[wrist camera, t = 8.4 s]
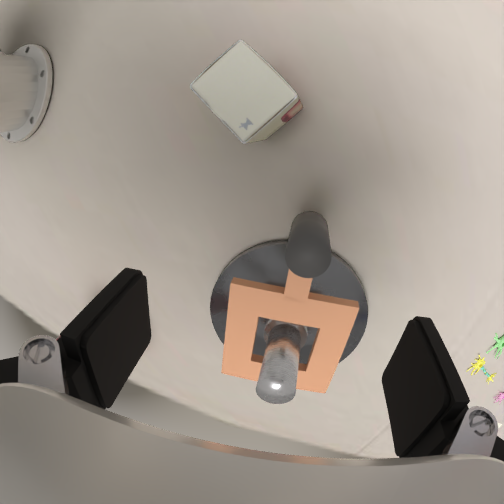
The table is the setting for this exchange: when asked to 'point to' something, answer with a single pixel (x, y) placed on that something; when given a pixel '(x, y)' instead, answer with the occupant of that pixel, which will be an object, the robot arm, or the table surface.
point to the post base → (277, 275)
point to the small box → (246, 94)
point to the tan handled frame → (291, 309)
